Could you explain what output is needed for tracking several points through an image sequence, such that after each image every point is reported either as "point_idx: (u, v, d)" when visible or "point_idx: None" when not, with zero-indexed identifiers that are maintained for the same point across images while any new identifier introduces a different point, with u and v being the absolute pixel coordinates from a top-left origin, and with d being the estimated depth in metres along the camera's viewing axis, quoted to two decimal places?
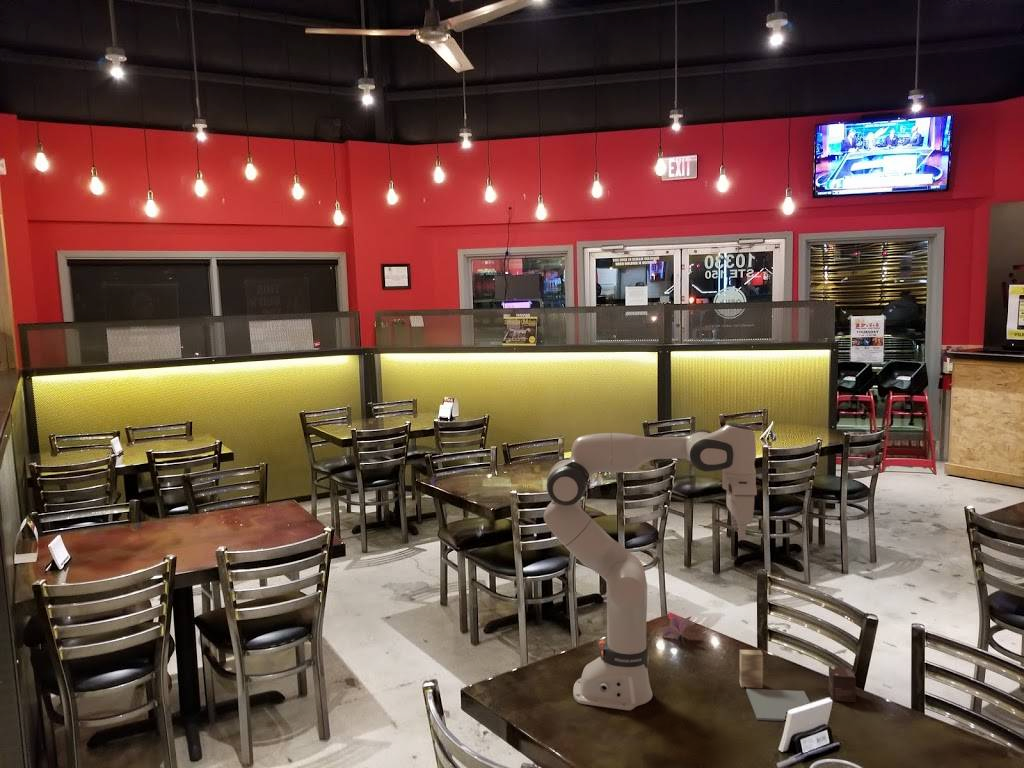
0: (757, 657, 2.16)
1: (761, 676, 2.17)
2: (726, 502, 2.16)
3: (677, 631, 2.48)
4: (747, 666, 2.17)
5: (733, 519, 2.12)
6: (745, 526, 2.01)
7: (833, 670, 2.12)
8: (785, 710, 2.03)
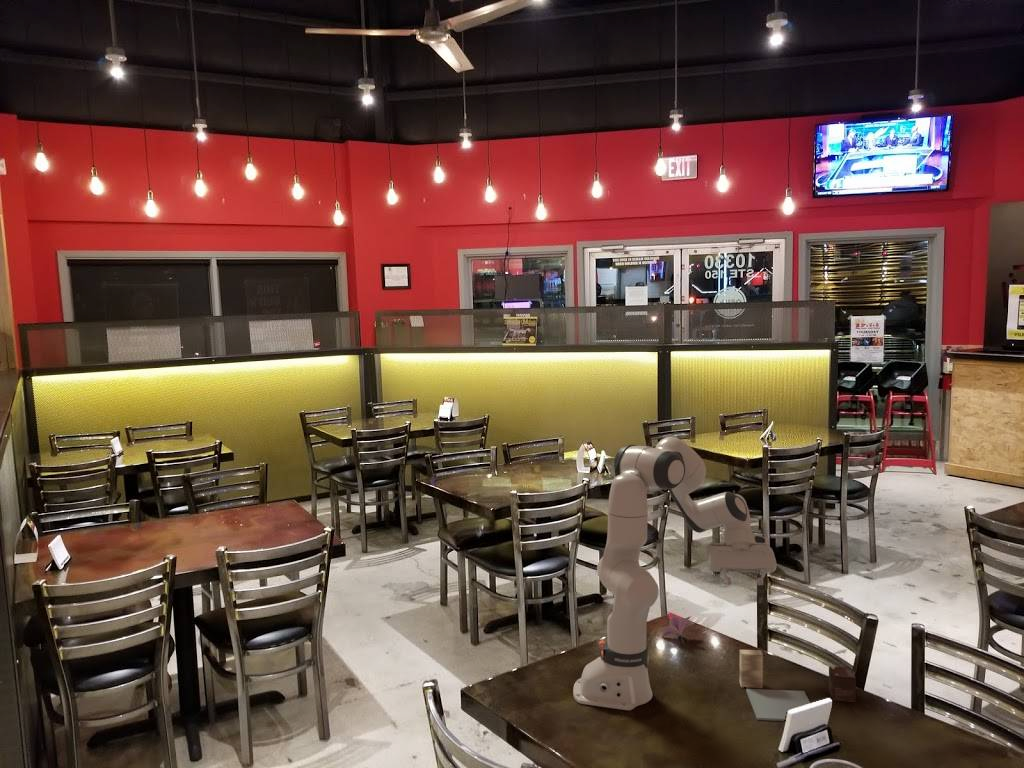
0: (757, 657, 2.16)
1: (761, 676, 2.17)
2: (712, 562, 2.32)
3: (677, 631, 2.48)
4: (747, 666, 2.17)
5: None
6: (764, 575, 2.30)
7: (833, 670, 2.12)
8: (785, 710, 2.03)
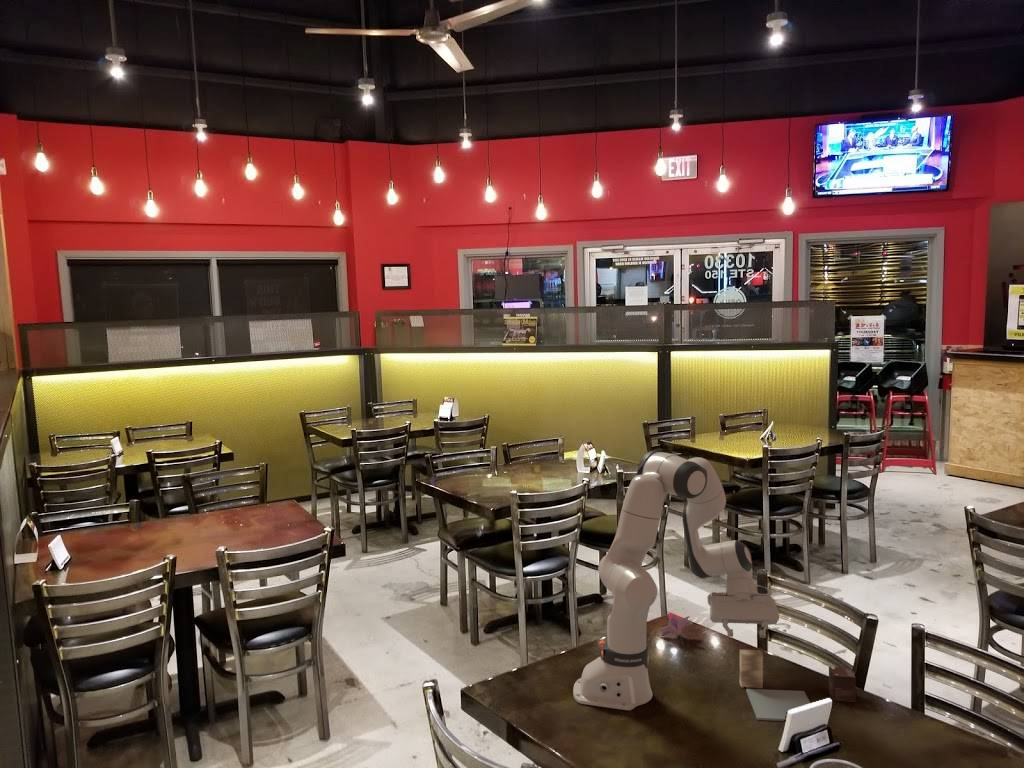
0: (757, 657, 2.16)
1: (761, 676, 2.17)
2: (714, 613, 2.28)
3: (676, 631, 2.49)
4: (747, 666, 2.17)
5: None
6: None
7: (833, 670, 2.12)
8: (785, 710, 2.03)
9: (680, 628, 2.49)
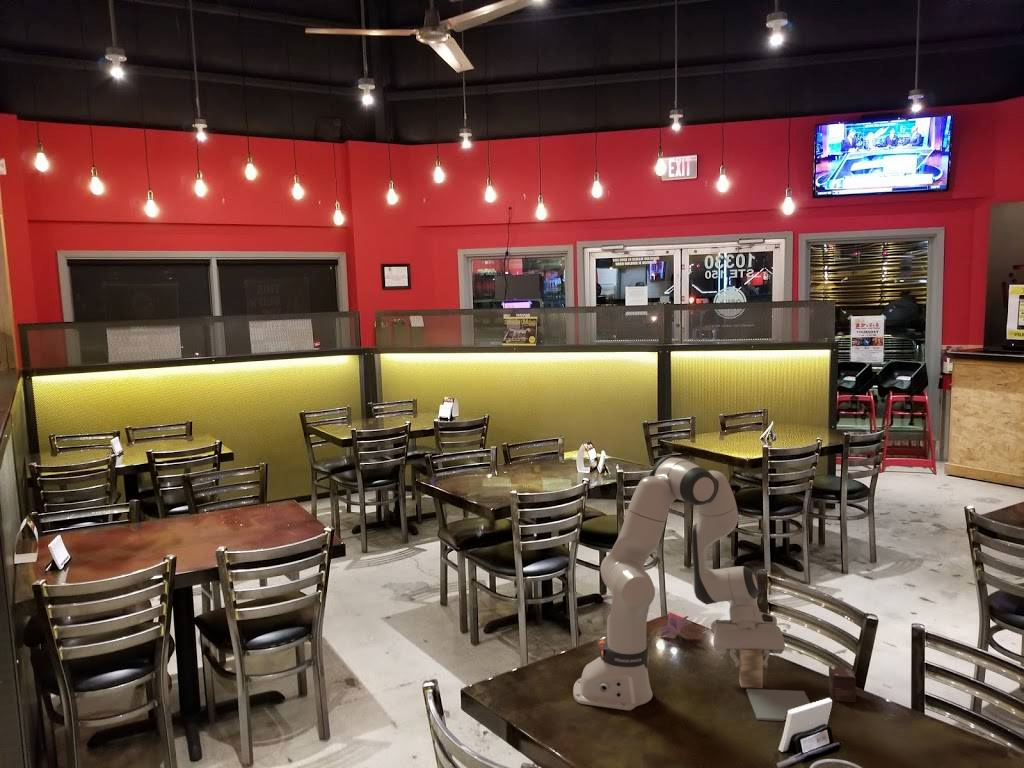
0: (757, 657, 2.16)
1: (761, 676, 2.17)
2: (718, 642, 2.21)
3: (675, 630, 2.49)
4: (747, 666, 2.17)
5: None
6: None
7: (833, 670, 2.12)
8: (785, 710, 2.03)
9: (679, 628, 2.49)
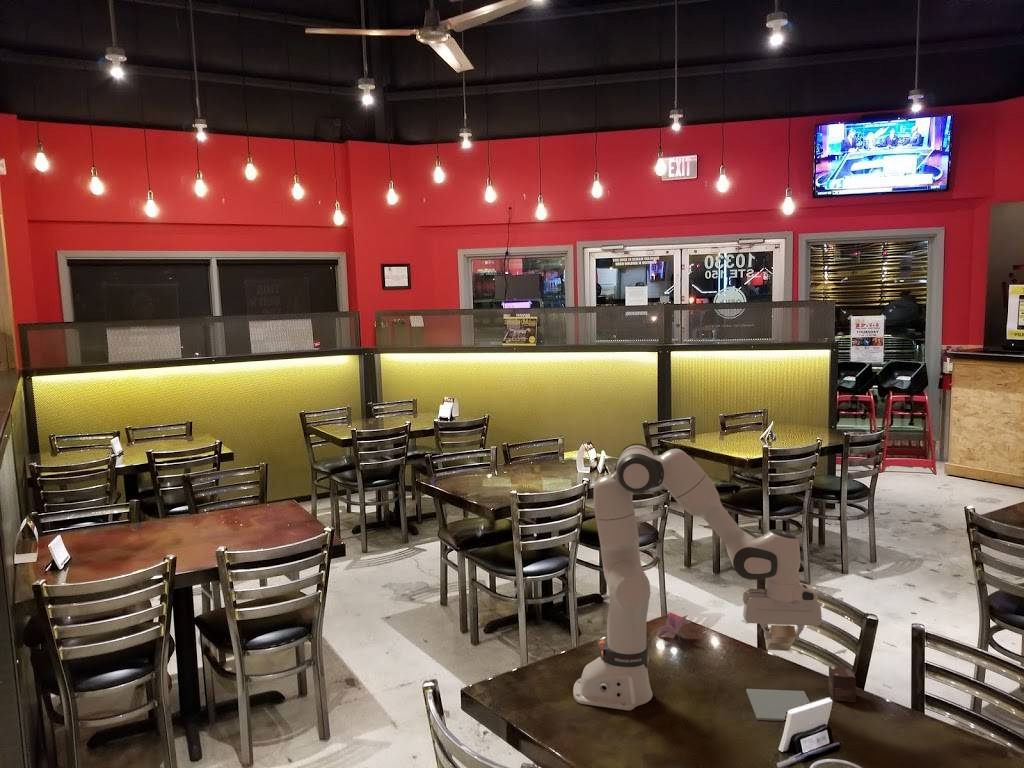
0: (789, 637, 2.03)
1: (790, 645, 2.07)
2: (749, 618, 2.04)
3: (673, 630, 2.49)
4: (777, 641, 2.05)
5: (767, 631, 2.05)
6: None
7: (833, 670, 2.12)
8: (785, 710, 2.03)
9: (678, 627, 2.49)
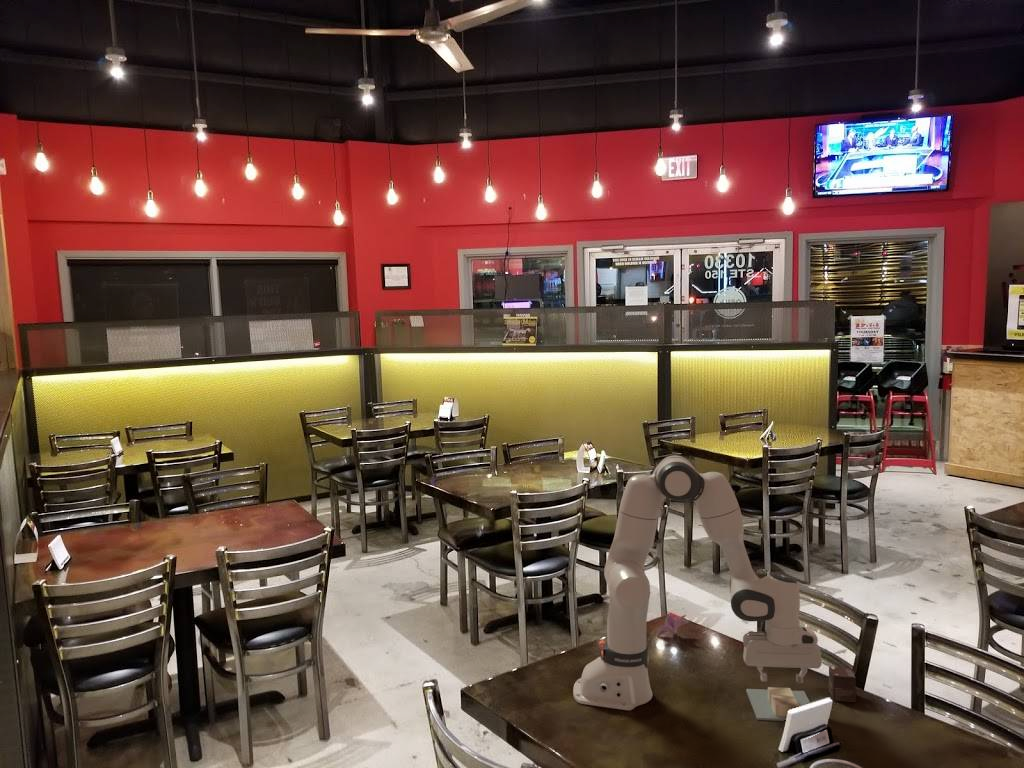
0: None
1: None
2: (749, 661, 2.05)
3: (672, 630, 2.50)
4: None
5: (763, 673, 2.06)
6: None
7: (833, 670, 2.12)
8: None
9: (676, 627, 2.50)
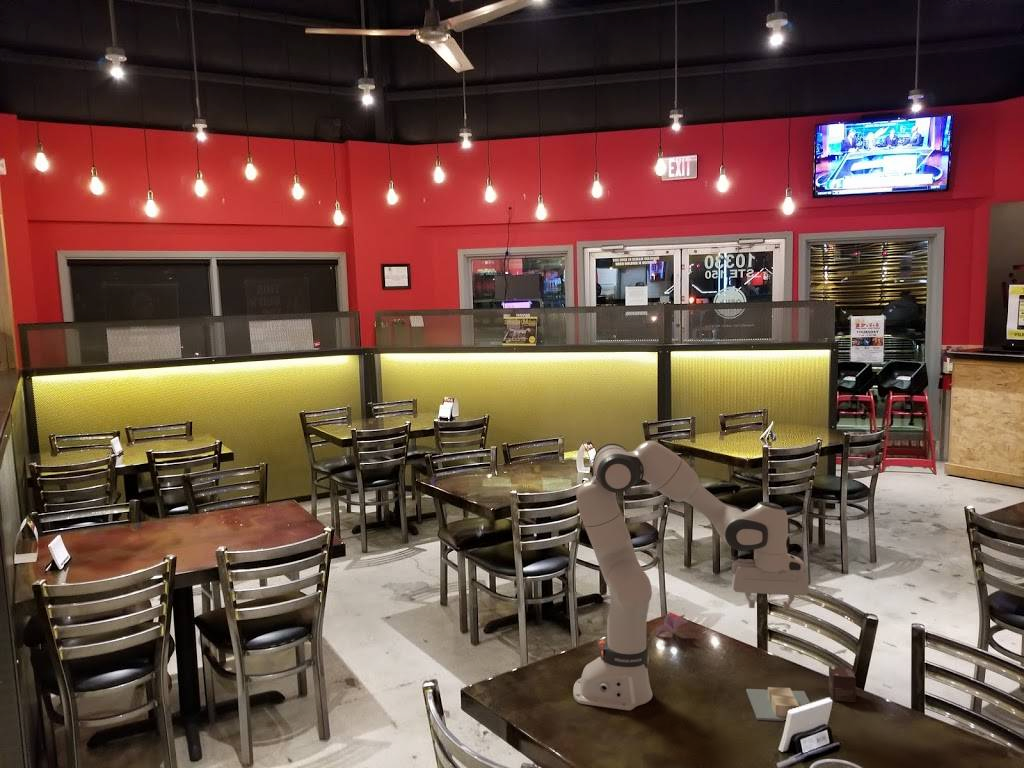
0: None
1: None
2: (737, 587, 2.10)
3: (671, 629, 2.50)
4: None
5: (751, 600, 2.11)
6: None
7: (833, 670, 2.12)
8: None
9: (675, 627, 2.50)
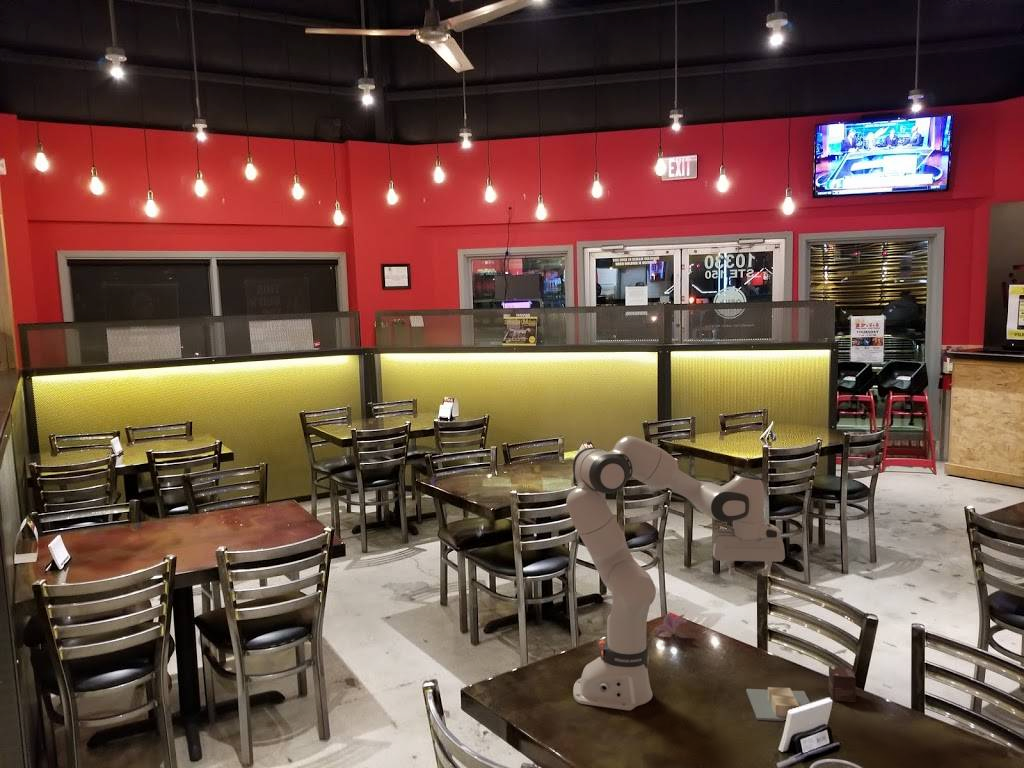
0: None
1: None
2: (717, 556, 2.21)
3: (670, 629, 2.50)
4: None
5: (731, 568, 2.22)
6: None
7: (833, 670, 2.12)
8: None
9: (675, 627, 2.50)
